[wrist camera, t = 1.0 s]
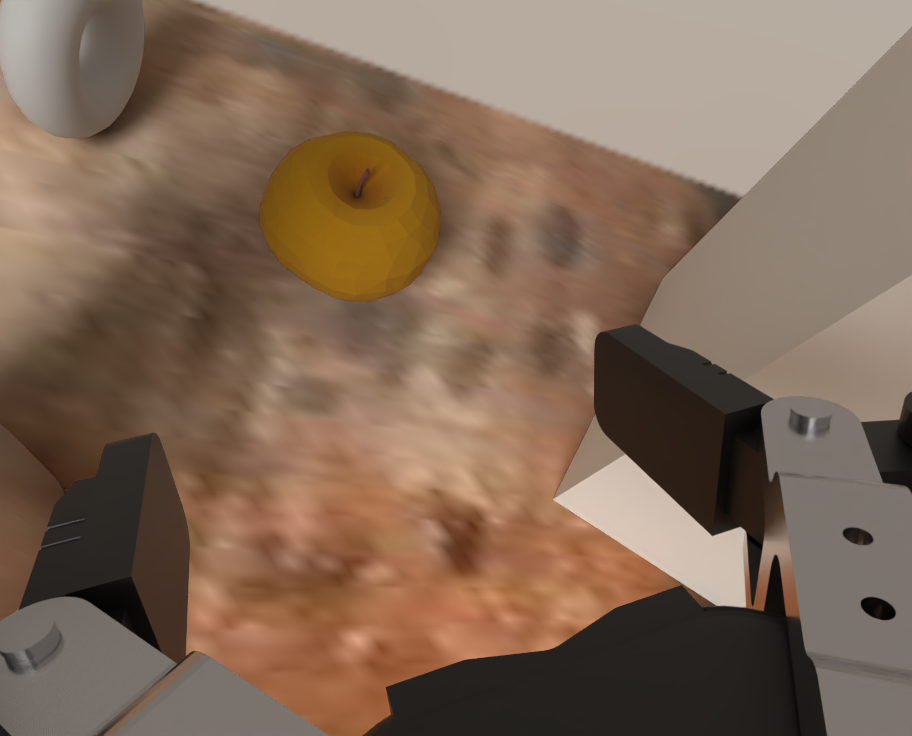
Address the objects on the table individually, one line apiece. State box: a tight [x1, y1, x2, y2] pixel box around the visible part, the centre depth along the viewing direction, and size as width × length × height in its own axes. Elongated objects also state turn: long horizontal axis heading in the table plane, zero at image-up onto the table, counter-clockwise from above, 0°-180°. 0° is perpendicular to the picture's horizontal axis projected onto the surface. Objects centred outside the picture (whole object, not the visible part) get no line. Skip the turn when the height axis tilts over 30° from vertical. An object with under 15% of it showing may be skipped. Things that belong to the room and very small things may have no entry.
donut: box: [0, 0, 145, 138], centre depth 35 cm, size 10×4×10 cm, turn 166°
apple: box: [259, 132, 440, 302], centre depth 35 cm, size 9×9×9 cm
